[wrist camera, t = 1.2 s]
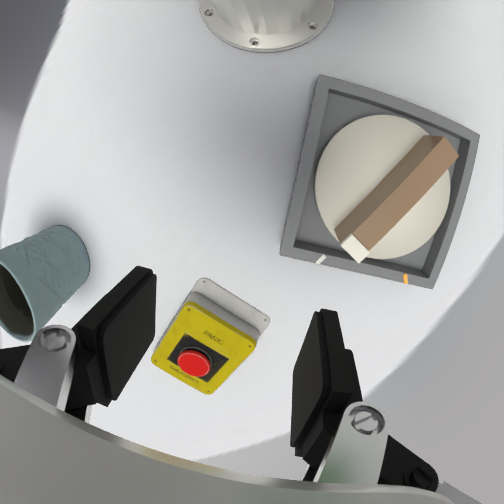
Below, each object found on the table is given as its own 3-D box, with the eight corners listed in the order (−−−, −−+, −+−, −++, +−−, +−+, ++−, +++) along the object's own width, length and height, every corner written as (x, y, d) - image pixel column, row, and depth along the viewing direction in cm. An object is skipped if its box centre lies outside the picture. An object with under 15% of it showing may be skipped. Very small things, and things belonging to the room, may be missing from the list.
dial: (380, 87, 22) (401, 76, 17) (464, 189, 24) (496, 202, 19) (283, 187, 27) (282, 200, 21) (378, 278, 29) (394, 308, 23)
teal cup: (94, 228, 32) (24, 270, 21) (97, 301, 36) (44, 356, 25) (37, 215, 32) (-30, 247, 21) (44, 282, 36) (-10, 324, 25)
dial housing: (316, 81, 24) (319, 73, 21) (464, 133, 23) (481, 134, 20) (280, 243, 30) (279, 256, 27) (422, 276, 29) (433, 290, 26)
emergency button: (139, 373, 34) (191, 291, 29) (152, 352, 38) (203, 272, 33) (203, 409, 35) (271, 340, 30) (210, 386, 39) (274, 316, 34)
